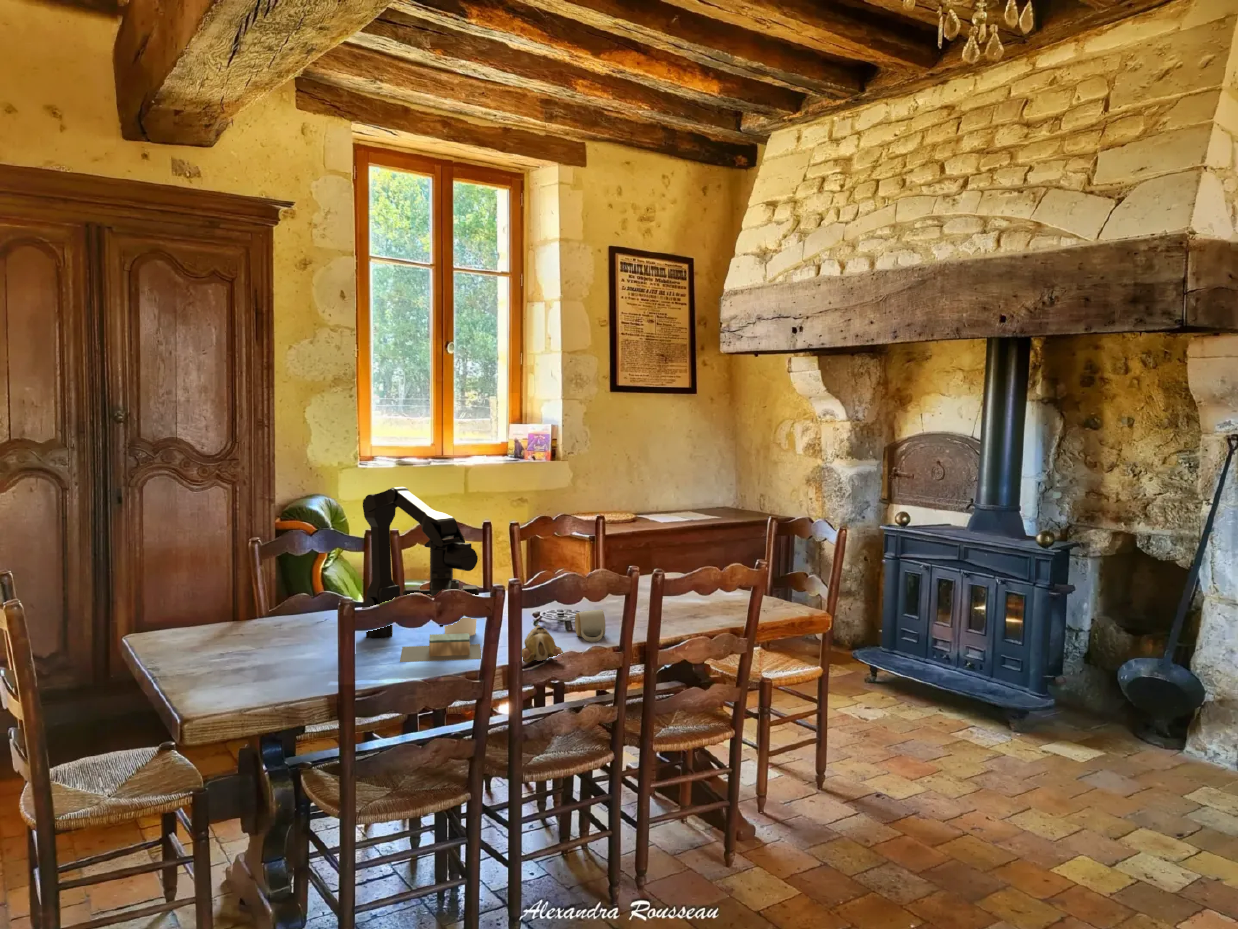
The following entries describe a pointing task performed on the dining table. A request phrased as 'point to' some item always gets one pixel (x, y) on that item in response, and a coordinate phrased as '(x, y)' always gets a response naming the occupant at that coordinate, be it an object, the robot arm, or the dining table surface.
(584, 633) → the ceramic mug
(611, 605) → the dining table surface
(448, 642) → the wooden block
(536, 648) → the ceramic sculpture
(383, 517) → the robot arm
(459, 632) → the candle holder
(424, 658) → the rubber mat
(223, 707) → the dining table surface
